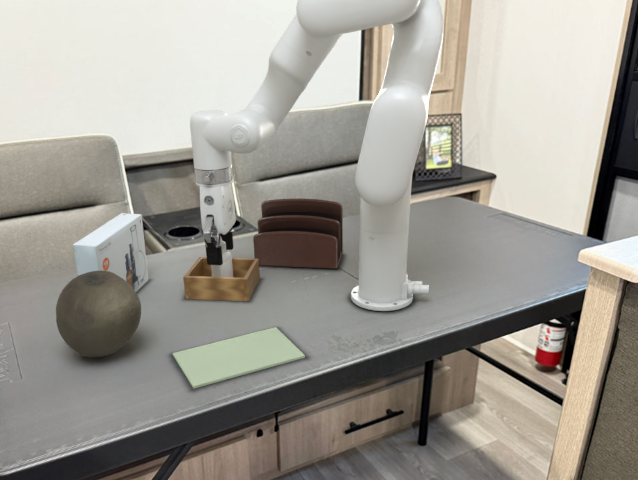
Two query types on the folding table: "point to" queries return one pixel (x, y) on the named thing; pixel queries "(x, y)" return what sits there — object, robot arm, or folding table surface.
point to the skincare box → (115, 250)
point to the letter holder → (300, 233)
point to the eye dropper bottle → (226, 267)
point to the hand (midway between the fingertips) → (220, 256)
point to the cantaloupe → (97, 313)
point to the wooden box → (222, 281)
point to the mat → (236, 357)
